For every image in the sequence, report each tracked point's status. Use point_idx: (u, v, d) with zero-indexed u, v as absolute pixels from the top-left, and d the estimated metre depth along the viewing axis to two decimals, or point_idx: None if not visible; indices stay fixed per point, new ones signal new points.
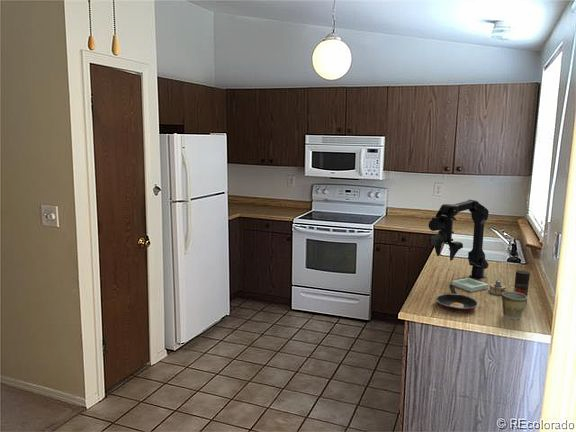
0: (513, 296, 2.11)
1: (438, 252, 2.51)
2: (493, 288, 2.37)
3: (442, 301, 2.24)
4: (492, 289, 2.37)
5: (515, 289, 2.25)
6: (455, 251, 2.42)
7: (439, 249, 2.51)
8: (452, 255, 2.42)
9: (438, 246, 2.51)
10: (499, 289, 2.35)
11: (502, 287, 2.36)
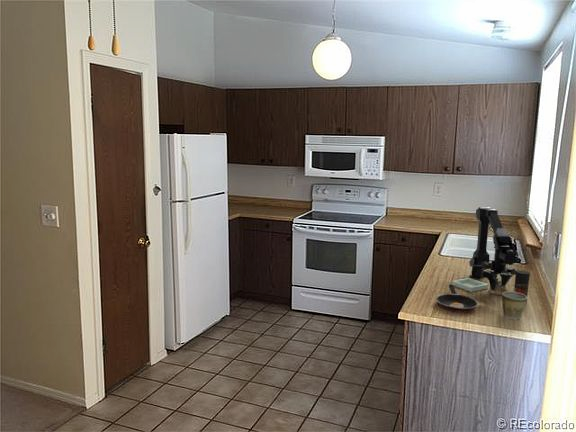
0: (513, 296, 2.11)
1: (502, 284, 2.40)
2: None
3: (442, 301, 2.24)
4: None
5: (515, 289, 2.25)
6: (493, 281, 2.35)
7: (504, 281, 2.39)
8: (491, 284, 2.36)
9: (504, 278, 2.40)
10: (499, 289, 2.35)
11: (502, 287, 2.36)
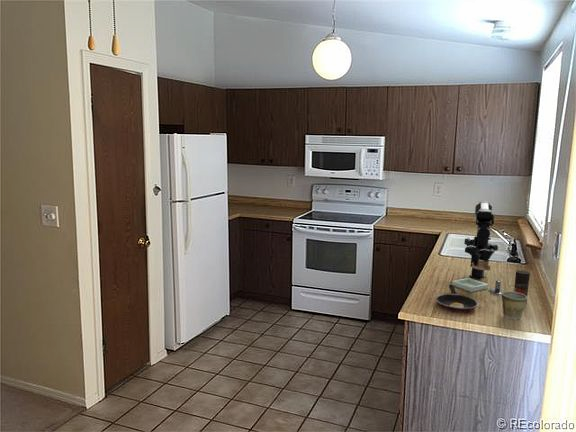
0: (513, 296, 2.11)
1: (485, 260, 2.43)
2: None
3: (442, 301, 2.24)
4: None
5: (515, 289, 2.25)
6: (476, 257, 2.38)
7: (486, 257, 2.43)
8: (474, 260, 2.39)
9: (486, 254, 2.43)
10: (482, 264, 2.38)
11: (485, 263, 2.39)
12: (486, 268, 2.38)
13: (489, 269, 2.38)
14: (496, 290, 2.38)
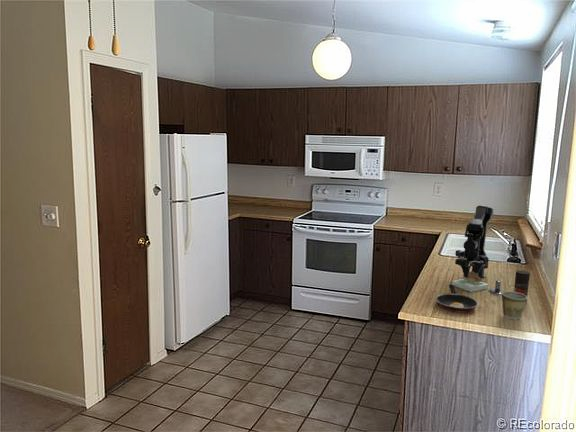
0: (513, 296, 2.11)
1: (475, 271, 2.47)
2: None
3: (442, 301, 2.24)
4: None
5: (515, 289, 2.25)
6: (466, 269, 2.41)
7: (477, 269, 2.46)
8: (464, 272, 2.43)
9: (477, 266, 2.46)
10: (472, 276, 2.42)
11: (475, 274, 2.43)
12: (476, 280, 2.42)
13: (479, 281, 2.41)
14: (496, 290, 2.38)
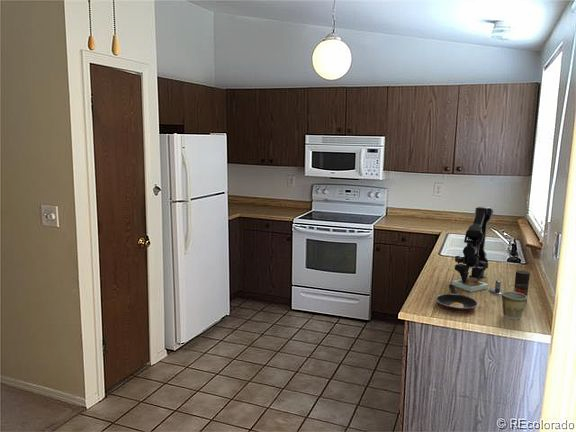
0: (513, 296, 2.11)
1: (476, 277, 2.48)
2: None
3: (442, 301, 2.24)
4: None
5: (515, 289, 2.25)
6: (464, 275, 2.41)
7: (478, 274, 2.47)
8: (462, 278, 2.43)
9: (477, 271, 2.47)
10: (471, 280, 2.43)
11: (473, 278, 2.44)
12: (475, 283, 2.42)
13: (479, 284, 2.42)
14: (496, 290, 2.38)
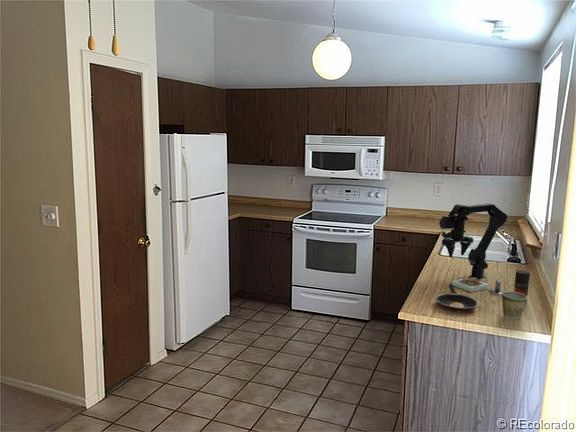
0: (513, 296, 2.11)
1: (462, 251, 2.60)
2: (465, 281, 2.44)
3: (442, 301, 2.24)
4: (464, 282, 2.45)
5: (515, 289, 2.25)
6: (451, 249, 2.53)
7: (464, 249, 2.59)
8: (449, 252, 2.55)
9: (463, 246, 2.59)
10: (471, 280, 2.43)
11: (473, 278, 2.44)
12: (475, 283, 2.42)
13: (479, 284, 2.42)
14: (496, 290, 2.38)
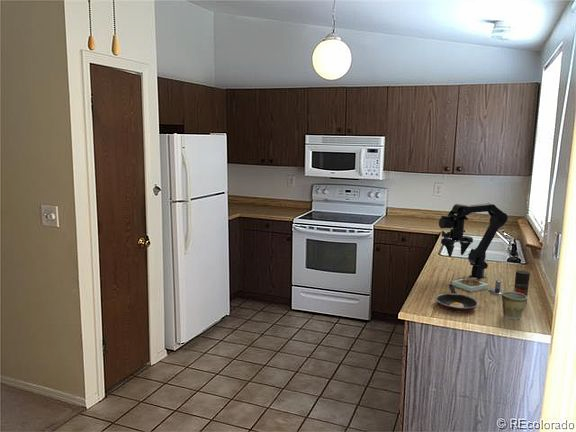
0: (513, 296, 2.11)
1: (462, 251, 2.60)
2: (465, 281, 2.44)
3: (442, 301, 2.24)
4: (464, 282, 2.45)
5: (515, 289, 2.25)
6: (450, 248, 2.53)
7: (463, 249, 2.59)
8: (448, 251, 2.55)
9: (463, 245, 2.59)
10: (471, 280, 2.43)
11: (473, 278, 2.44)
12: (475, 283, 2.42)
13: (479, 284, 2.42)
14: (496, 290, 2.38)
